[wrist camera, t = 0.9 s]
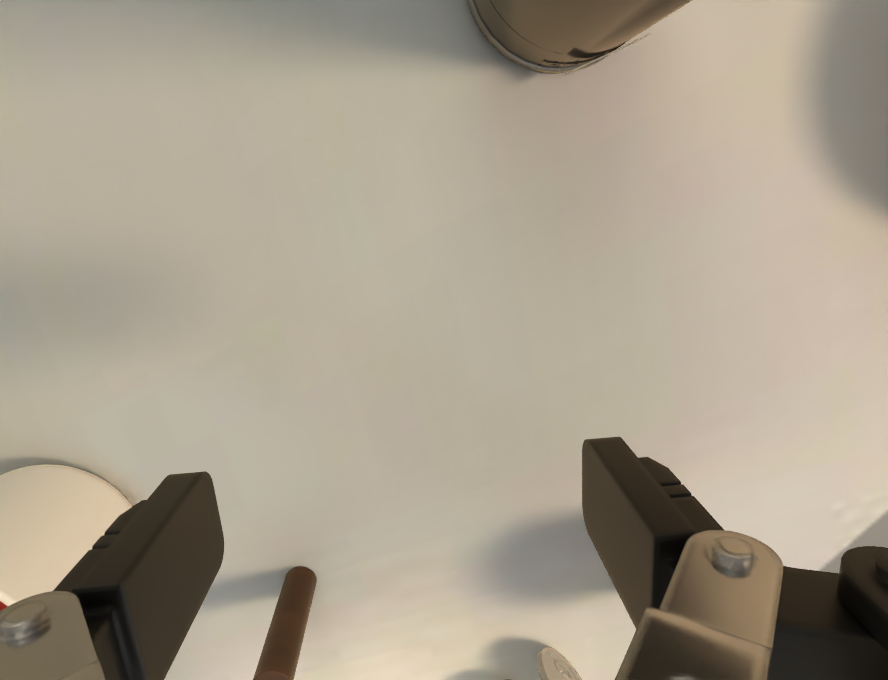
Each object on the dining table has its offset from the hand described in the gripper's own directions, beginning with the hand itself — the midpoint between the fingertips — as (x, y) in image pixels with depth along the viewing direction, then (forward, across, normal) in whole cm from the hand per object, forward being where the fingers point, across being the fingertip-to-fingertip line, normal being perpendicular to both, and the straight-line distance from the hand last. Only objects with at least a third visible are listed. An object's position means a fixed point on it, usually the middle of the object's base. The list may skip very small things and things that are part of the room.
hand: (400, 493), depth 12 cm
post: (+20, +8, +18) cm, 28 cm away
